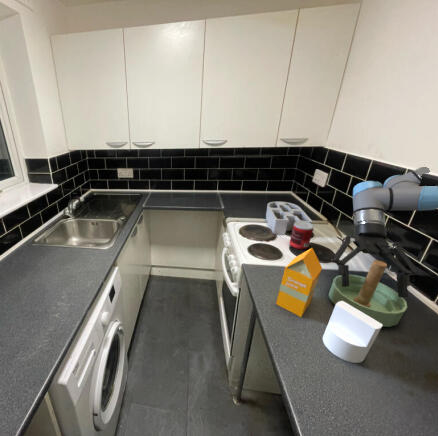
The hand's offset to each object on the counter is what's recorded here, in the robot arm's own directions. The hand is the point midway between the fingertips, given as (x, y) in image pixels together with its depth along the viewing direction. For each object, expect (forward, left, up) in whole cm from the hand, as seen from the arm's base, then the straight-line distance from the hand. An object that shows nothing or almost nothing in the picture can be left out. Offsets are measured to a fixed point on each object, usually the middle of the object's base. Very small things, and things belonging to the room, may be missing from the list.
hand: (373, 291), depth 69 cm
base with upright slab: (+10, +17, -8) cm, 21 cm away
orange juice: (+20, +4, -8) cm, 22 cm away
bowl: (0, -2, -8) cm, 8 cm away
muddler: (0, -2, -7) cm, 8 cm away
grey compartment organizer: (+16, -61, -8) cm, 64 cm away
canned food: (+12, -38, -8) cm, 41 cm away
